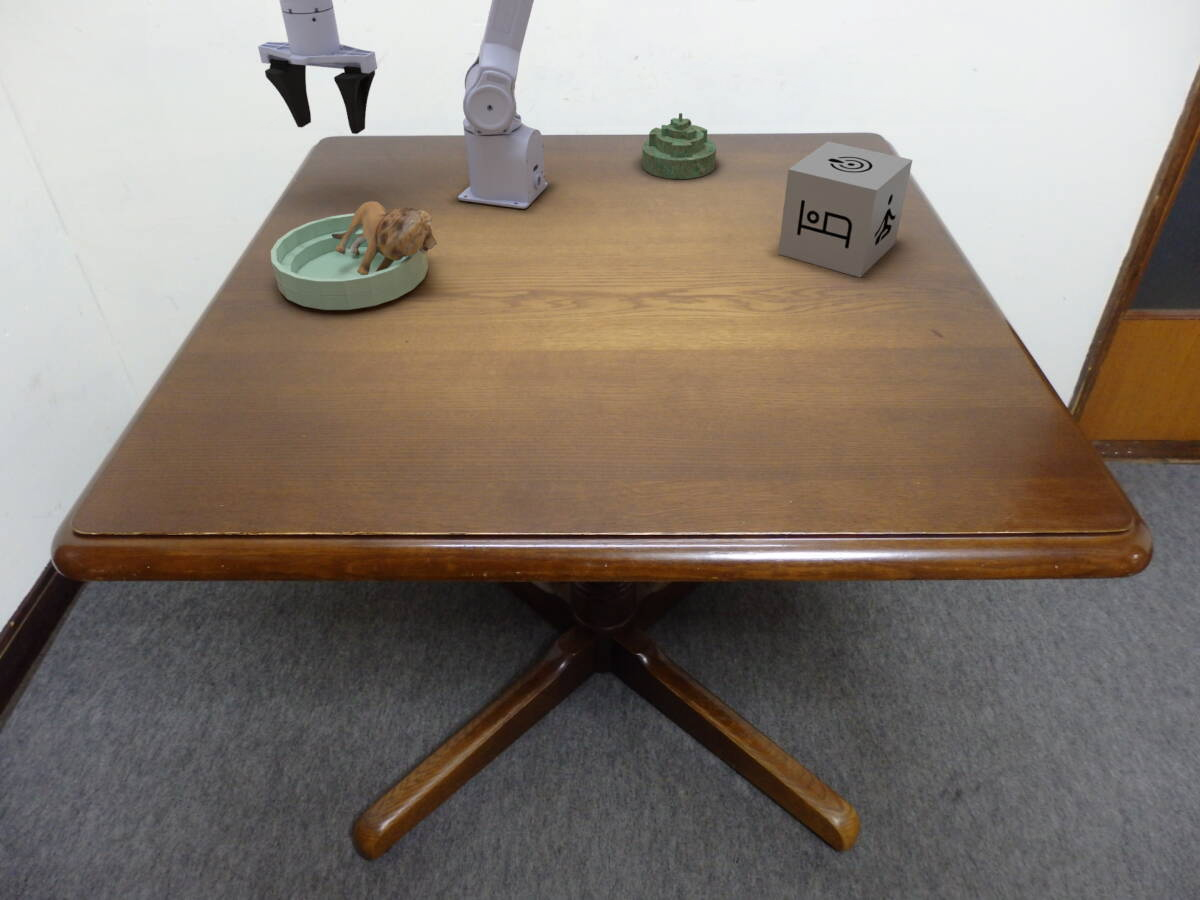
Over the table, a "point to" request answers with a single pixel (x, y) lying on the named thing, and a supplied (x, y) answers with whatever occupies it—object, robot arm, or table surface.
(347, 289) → the bowl
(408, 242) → the lion figurine
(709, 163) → the decorative artifact
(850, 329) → the table surface
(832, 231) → the icon cube
